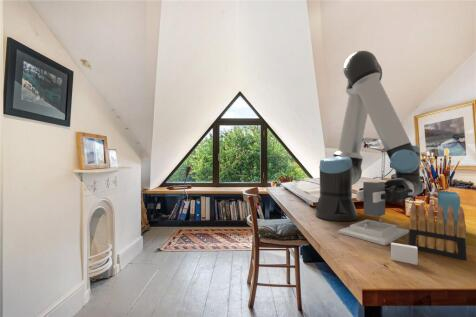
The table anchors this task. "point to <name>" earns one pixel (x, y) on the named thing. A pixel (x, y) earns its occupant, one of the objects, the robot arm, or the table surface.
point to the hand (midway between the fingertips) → (365, 196)
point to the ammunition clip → (438, 232)
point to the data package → (449, 204)
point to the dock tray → (374, 231)
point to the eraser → (404, 253)
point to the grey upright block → (369, 206)
